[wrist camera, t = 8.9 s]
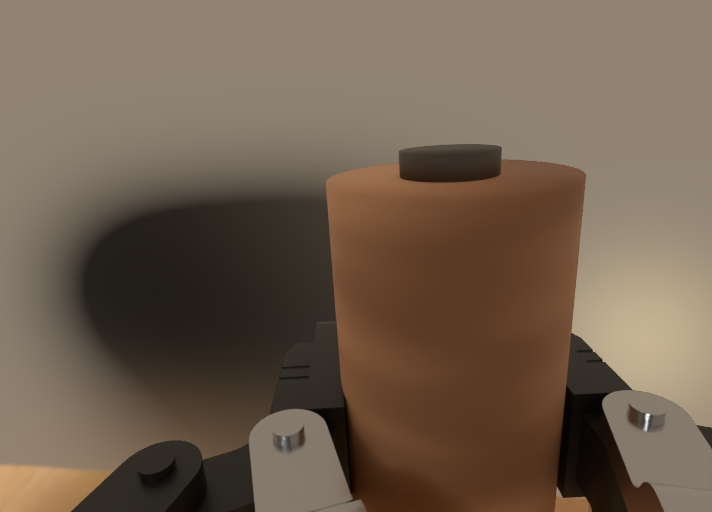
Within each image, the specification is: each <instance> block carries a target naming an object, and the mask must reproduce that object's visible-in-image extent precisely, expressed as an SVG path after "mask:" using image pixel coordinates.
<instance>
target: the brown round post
mask: <svg viewBox="0 0 712 512" xmlns="http://www.w3.org/2000/svg"><path fill="white" fill-rule="evenodd" d="M501 149H502V147H500V146H495V145H479V144H459V145H436V146H424V147H415V148H408V149H403V150H400V151H399V163H395V164H387V165H378V166H372V167H366V168H360V169H355V170H351V171H346V172H343V173H340V174H337V175H335V176H332V177H330V178H329V179H328V180H327V181H326V190H327V202H328V215H329V229H330V242H331V255H332V268H333V280H334V294H335V306H336V307H335V308H336V321H337V334H338V347H339V360H340V373H341V385H342V389H343V393H344V399H345V413H346V426H347V439H348V453H349V466H350V479H351V493H352V499H356V498H360V499H361V501H362V502H363V504H364V506H365V509H366V511H367V512H554V510H555V499H556V489H557V478H558V468H559V457H560V446H561V436H562V425H563V414H564V404H565V393H566V383H567V372H568V361H569V351H570V340H571V329H572V319H573V307H574V298H575V287H576V276H577V266H578V255H579V244H580V234H581V222H582V213H583V202H584V191H585V181H586V174H585V173H584V172H583V171H581V170H579V169H577V168H574V167H570V166H565V165H560V164H554V163H546V162H536V161H523V160H502V159H501V151H502V150H501Z"/></svg>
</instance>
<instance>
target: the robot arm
mask: <svg viewBox="0 0 712 512" xmlns="http://www.w3.org/2000/svg"><path fill="white" fill-rule="evenodd" d="M557 487H558V489H559V491H560V493H561V494H562V496H563V498H569V497H586V499H587V500H588V502H589V504H590V506H589V512H712V428H710V427H704V426H698V425H696V424H695V423H694V421H693V420H692V418H691V417H690V415H689V414H688V413H687V412H686V411H685V410H684V409H683V408H681V407H680V406H678V405H677V404H675V403H673V402H672V401H669V400H667V399H665V398H663V397H660V396H658V395H654V394H651V393H646V392H642V391H635V390H632V389H631V388H630V387H629V386H628V385H627V384H626V383H625V382H624V381H623V380H622V379H621V378H620V377H619V376H618V375H617V374H616V373H615V372H614V371H613V370H612V369H611V368H610V367H609V366H608V365H607V364H606V363H605V362H603V361H602V359H601V358H600V357H599V356H598V355H597V354H596V353H595V352H593V350H592V349H591V348H590V347H589V346H588V345H587V344H586V343H585V342H584V341H583V340H582V339H581V338H580V337H578V336H576V335H574V334H572V333H571V340H570V351H569V361H568V372H567V383H566V393H565V404H564V414H563V425H562V436H561V446H560V457H559V468H558V478H557ZM71 512H367V511H366V509H365V506H364V504H363V502H362V501H361V499H360V498H356V499H352V493H351V479H350V466H349V453H348V439H347V426H346V413H345V399H344V393H343V389H342V385H341V373H340V360H339V347H338V334H337V321H335V322H319V323H318V322H317V324H316V330H315V337H314V342H308V343H296V344H295V345H294V346H293V347H292V348H291V349H290V350H289V351H288V352H287V353H286V354H285V357H284V360H283V364H282V370H281V372H280V376H279V380H278V384H277V387H276V391H275V395H274V399H273V403H272V407H271V411H270V415H269V416H267V417H265V418H264V419H263V420H261V421H260V422H259V423H258V424H257V425H256V426H255V427H254V428H253V430H252V431H251V433H250V436H249V443H248V444H247V445H245V446H243V447H241V448H239V449H237V450H234V451H232V452H228V453H225V454H221V455H218V456H214V457H211V458H207V459H204V460H202V455H201V452H200V451H199V449H198V448H197V447H196V446H195V445H193V444H191V443H189V442H185V441H166V442H162V443H157V444H154V445H151V446H149V447H147V448H144V449H142V450H140V451H139V452H137V453H135V454H134V455H132V456H131V457H129V458H128V459H127V460H126V461H125V462H124V463H122V464H121V465H120V466H119V467H118V468H117V469H116V470H115V471H114V472H113V473H112V474H111V475H110V476H109V477H107V478H106V479H105V480H104V481H103V482H102V483H101V484H100V485H99V486H98V487H97V488H96V489H95V490H94V491H92V492H91V493H90V494H89V495H88V496H87V497H86V498H85V499H84V500H83V501H82V502H81V503H80V504H79V505H78V506H76V507H75V508H74V509H73V510H72V511H71Z"/></svg>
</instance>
